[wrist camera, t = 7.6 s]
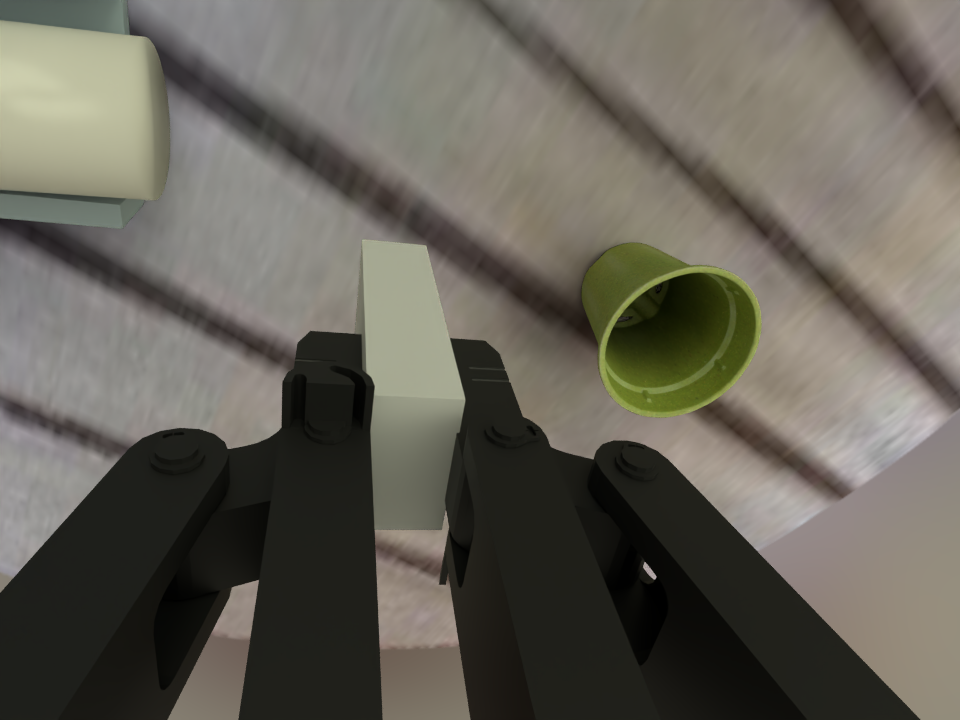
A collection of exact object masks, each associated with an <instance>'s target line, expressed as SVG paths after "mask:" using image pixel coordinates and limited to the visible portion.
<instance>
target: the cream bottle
mask: <svg viewBox="0 0 960 720" xmlns="http://www.w3.org/2000/svg"><path fill="white" fill-rule="evenodd" d="M169 158H170V118H169V106H168V97H167V90H166V84H165V79H164V74H163V70H162V66H161V62H160V59H159V56H158V54H157V51H156V49H155V47H154V45H153V43H152V42H151V41H150V40H149V39H148V38H147V37H140V36H132V35H123V34H115V33H107V32H98V31H90V30H81V29H73V28H64V27H56V26H47V25H39V24H30V23H22V22H13V21H5V20H0V190H10V191H25V192H39V193H54V194H68V195H83V196H97V197H112V198H126V199H140V200H157V199H159V198H160V196H161V195H162V193H163V190H164V188H165V184H166V180H167V175H168V168H169Z"/></svg>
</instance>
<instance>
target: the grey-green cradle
mask: <svg viewBox="0 0 960 720" xmlns="http://www.w3.org/2000/svg"><path fill="white" fill-rule="evenodd" d="M0 20H5V21H13V22H22V23H30V24H39V25H47V26H56V27H64V28H73V29H81V30H90V31H98V32H107V33H115V34H123V35H130V32H129V20H128V8H127V0H0ZM143 204H144V202H143V200H140V199H126V198H112V197H97V196H83V195H68V194H54V193H39V192H25V191H10V190H0V218H5V219H16V220H27V221H38V222H50V223H61V224H72V225H83V226H95V227H106V228H117V229H123V228H124V227H125V225H126V224H127V223H128V222H129V221H130V220H131V218H132V217H133V216H134V215H135V214H136V212H137V211H138V210H139V209H140V208H141V207H142V205H143Z"/></svg>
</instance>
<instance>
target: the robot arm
mask: <svg viewBox="0 0 960 720" xmlns="http://www.w3.org/2000/svg"><path fill="white" fill-rule="evenodd" d="M445 510H446V511H447V517H448V523H449V531H448V536H447V541H446V547H445V552H444V557H443V562H442V568H441V573H440V581H439V585H446V580H447V575H448V574H449V581H450V587H451V594H452V601H453V607H454V614H455V620H456V627H457V633H458V640H459V646H460V653H461V660H462V666H463V673H464V679H465V686H466V692H467V699H468V706H469V712H470V718H471V720H920V719H919V718H918V717H917V716H916V715H915V714H914V713H913V712H912V711H911V709H910V708H909V707H908V706H907V705H906V704H905V703H904V702H903V701H902V700H901V699H900V698H899V697H898V696H897V695H896V694H895V693H894V692H893V691H892V690H891V689H890V688H889V687H888V686H887V685H886V684H885V683H884V682H883V681H882V680H881V679H880V678H879V676H877V675H876V674H875V672H874V671H873V670H872V669H871V668H870V667H869V666H868V665H867V664H866V663H865V662H864V661H863V660H862V659H861V658H860V657H859V656H858V655H857V654H856V653H855V652H854V651H853V650H852V649H851V648H850V647H849V646H848V645H847V644H846V642H845V641H844V640H843V639H842V638H840V636H839V635H838V634H837V633H836V632H835V631H834V630H833V629H832V628H831V627H830V626H829V625H828V624H827V623H826V622H825V621H824V620H823V619H822V618H821V617H820V616H819V615H818V614H817V613H816V612H815V610H814V609H813V608H812V607H811V606H810V605H809V604H808V603H807V602H806V601H805V600H804V599H803V598H802V597H801V596H800V595H799V594H798V593H797V592H796V591H795V590H794V589H793V588H792V587H791V586H790V585H789V584H788V583H787V582H786V581H785V580H784V579H783V578H782V577H781V575H780V574H779V573H777V571H776V570H775V569H774V568H773V567H772V566H771V565H770V564H769V563H768V562H767V561H766V560H765V559H764V558H763V557H762V556H761V555H760V554H759V553H758V552H757V551H756V550H755V549H754V548H753V547H752V546H751V544H750V543H749V542H748V541H747V540H746V539H745V538H744V537H743V536H742V535H741V534H740V533H739V532H738V531H737V530H736V529H735V528H734V527H733V526H732V525H731V524H730V523H729V522H728V521H727V520H726V519H725V518H724V517H723V516H722V515H721V514H720V513H719V512H718V510H717V509H716V508H715V507H714V506H713V505H712V504H711V503H710V502H709V501H708V500H707V499H706V498H705V497H704V496H703V495H702V494H701V493H700V492H699V491H698V490H697V489H696V488H695V487H694V486H693V485H692V484H691V483H690V482H689V481H688V480H687V479H686V477H685V476H684V475H683V474H682V473H681V472H680V471H679V470H678V469H677V468H676V467H675V466H674V465H673V464H672V463H671V462H670V461H669V460H668V459H667V458H665V457H664V456H663V455H661V454H660V453H659V452H658V451H656V450H654V449H652V448H649V447H647V446H645V445H643V444H640V443H635V442H631V441H611V442H608V443H605V444H602V445H601V446H600V448H599V449H598V450H597V451H596V453H595V457H594V460H593V459H589V458H585V457H581V456H576V455H572V454H568V453H565V452H562V451H559V450H556V449H554V448H552V447H550V444H549V442H548V439H547V437H546V435H545V434H544V432H543V431H542V429H541V428H540V427H539V426H537V425H536V424H535V423H533V422H532V421H530V420H529V419H527V418H524V417H523V416H522V413H521V410H520V408H519V405H518V402H517V400H516V397H515V394H514V392H513V389H512V386H511V383H510V382H509V378H508V375H507V373H506V371H505V367H504V365H503V362H502V359H501V357H500V354H499V353H498V352H497V351H496V350H495V349H494V348H493V347H491V346H490V345H489V344H488V343H487V342H486V341H482V340H467V339H452V338H450V337H449V333H448V330H447V326H446V322H445V318H444V314H443V310H442V306H441V302H440V298H439V294H438V291H437V287H436V283H435V279H434V275H433V271H432V267H431V263H430V259H429V255H428V252H427V248H426V245H416V244H406V243H396V242H385V241H375V240H365V239H362V247H361V260H360V273H359V285H358V298H357V310H356V323H355V334H349V333H333V332H318V331H310V332H309V333H308V334H307V335H306V336H305V337H304V338H302V339H301V340H300V341H299V342H298V344H297V351H296V358H295V364H294V369H293V370H291V371H289V372H288V373H287V375H286V376H285V378H284V380H283V383H282V428H281V429H280V430H279V431H278V432H277V433H275V434H274V435H273V436H271V437H270V438H268V439H266V440H263V441H261V442H259V443H256V444H252V445H248V446H244V447H238V448H233V449H227V447H226V444H225V442H224V441H222V440H221V439H220V438H219V437H217V436H216V435H215V434H212V433H209V432H206V431H203V430H200V429H188V428H177V429H171V430H164V431H159V432H157V433H154V434H152V435H149V436H147V437H144V438H142V439H141V440H140V441H138V442H137V443H136V444H134V445H133V446H132V447H130V448H129V449H128V450H127V452H126V453H125V454H124V455H123V456H122V457H121V458H120V459H119V461H118V462H117V463H116V464H115V465H114V466H113V467H112V468H111V469H110V471H109V472H108V473H107V474H106V475H105V476H104V477H103V478H102V480H101V481H100V482H99V483H98V484H97V485H96V486H95V487H94V489H93V490H92V491H91V492H90V493H89V494H88V495H87V496H86V497H85V499H84V500H83V501H82V502H81V503H80V504H79V505H78V506H77V508H76V509H75V510H74V511H73V512H72V513H71V514H70V515H69V517H68V518H67V519H66V520H65V521H64V522H63V523H62V524H61V525H60V527H59V528H58V529H57V530H56V531H55V532H54V533H53V534H52V536H51V537H50V538H49V539H48V540H47V541H46V542H45V543H44V544H43V546H42V547H41V548H40V549H39V550H38V551H37V552H36V553H35V555H34V556H33V557H32V558H31V559H30V560H29V561H28V562H27V564H26V565H25V566H24V567H23V568H22V569H21V570H20V571H19V572H18V574H17V575H16V576H15V577H14V578H13V579H12V580H11V581H10V583H9V584H8V585H7V586H6V587H5V588H4V590H3V591H2V592H1V593H0V720H167V719H168V717H169V715H170V713H171V711H172V709H173V708H174V706H175V704H176V701H177V699H178V698H179V696H180V694H181V692H182V690H183V688H184V686H185V684H186V682H187V680H188V678H189V676H190V674H191V672H192V670H193V668H194V666H195V664H196V662H197V660H198V658H199V656H200V654H201V652H202V650H203V648H204V646H205V644H206V642H207V640H208V638H209V636H210V634H211V632H212V631H213V629H214V627H215V625H216V623H217V621H218V619H219V617H220V615H221V613H222V611H223V609H224V607H225V605H226V603H227V601H228V599H229V597H230V592H231V588H232V587H234V586H238V585H241V584H245V583H249V582H252V581H256V580H259V584H258V591H257V598H256V605H255V611H254V618H253V625H252V632H251V638H250V645H249V652H248V659H247V665H246V673H245V679H244V686H243V693H242V699H241V706H240V713H239V720H382V699H381V698H382V697H381V672H380V648H379V624H378V600H377V576H376V552H375V530H442V526H443V521H444V515H445ZM644 562H646V563H647V564H648V566H649V567H650V568H651V569H652V571H653V572H654V573H655V575H656V576H657V577H656V579H655V580H653V579H652V578H651V577H650V576H649V575H648V574H647V572H646V571H645V570H644V568H643V565H644Z"/></svg>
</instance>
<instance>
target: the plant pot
mask: <svg viewBox="0 0 960 720" xmlns="http://www.w3.org/2000/svg"><path fill="white" fill-rule="evenodd" d="M661 282H662V288H661V290H660V292H659V293H656V287H657V284H659V283H661ZM581 296H582V303H583V307H584V309H585V312H586V314H587V317H588V319H589V322H590V324H591V327H592V329H593V332H594V334H595V337H596V339H597V342H598V345H599V347H598V369H599V374H600V377H601V380H602V382H603V385H604V386H605V388H606V390H607V392H608V393H609V395H610V396H611V397H612V398H613V399H614V400H615V401H616V402H617V403H618V404H619V405H620V406H622V407H623V408H625V409H626V410H628V411H630V412H632V413H635V414H638V415H641V416H646V417H657V418H666V417H673V416H677V415H682V414H686V413H689V412H692V411H694V410H697V409H698V408H701V407H703V406H705V405H707V404H709V403H711V402H712V401H714V400H715V399H717V398H718V397H720V396H721V395H722V394H724V393H725V392H726V391H727V390H728V389H729V388H731V387H732V386H733V385H734V384H735V383H736V381H737V380H738V379H739V378H740V377H741V375H742V374H743V372H744V371H745V370H746V368H747V366H748V365H749V364H750V362H751V360H752V358H753V356H754V354H755V352H756V349H757V346H758V343H759V337H760V334H761V325H762V324H761V312H760V307H759V303H758V301H757V299H756V297H755V295H754V293H753V292H752V290H751V289H750V287H749V286H748V285H747V284H746V283H745V282H744V281H743V280H742V279H741V278H739V277H738V276H736V275H735V274H733V273H731V272H729V271H727V270H724V269H721V268H718V267H713V266H707V265H692V266H690V265H688V264H686V263H684V262H682V261H680V260H678V259H676V258H674V257H672V256H670V255H668V254H666V253H664V252H662V251H660V250H658V249H656V248H653V247H651V246H649V245H646V244H642V243H626V244H621V245H618V246H616V247H613V248H611V249H609V250H608V251H606V252H605V253H604V254H603V255H602V256H601V257H600V259H599V260H598V261H596V262H595V263H594V264H593V265H592V266H591V267H590V268H589V269H588V271H587V273H586V275H585V278H584V280H583V284H582V291H581ZM627 316H629V317H631V316H633V317H632V318H631V319H629V320H626V321H623V322H616V321H617V319H618V318H619V317H627Z"/></svg>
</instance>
